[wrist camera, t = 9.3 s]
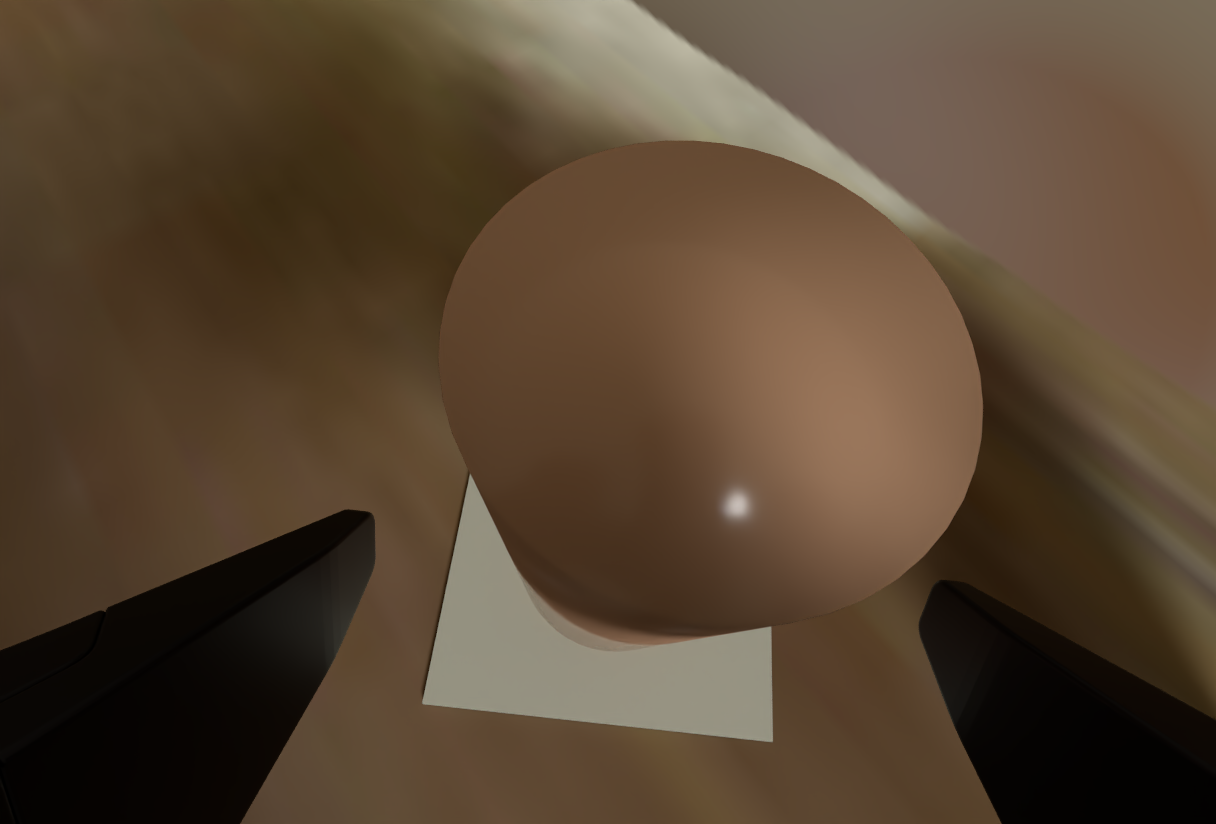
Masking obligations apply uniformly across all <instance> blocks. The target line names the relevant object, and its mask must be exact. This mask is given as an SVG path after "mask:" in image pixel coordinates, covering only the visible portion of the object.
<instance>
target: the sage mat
mask: <svg viewBox="0 0 1216 824" xmlns="http://www.w3.org/2000/svg"><path fill="white" fill-rule="evenodd" d="M422 704H427V705H436V706H446V707H455V708H464V709H473V710H482V711H492V712H501V713H510V714H519V715H528V716H537V717H547V718H556V719H565V720H574V721H583V722H593V723H602V724H611V725H620V726H629V727H639V728H648V729H657V730H666V731H675V732H685V733H694V734H703V735H712V736H721V737H730V738H740V739H749V740H758V741H767V742H773V729H772V654H771V627H765V628H759V629H753V630H748V631H742V632H736V633H730V634H724V635H718V636H713V637H707V638H701V639H695V640H689V641H683V642H678V643H672V644H666V645H660V646H654V647H648V648H642V649H637V650H631V651H620V652H613V651H602V650H597V649H591V648H589V647H586V646H583V645H580V644H578V643H576V642H574V641H572V640H570V639H568V638H566V637H565V636H563V635H562V634H560V633H559V632H558V631H556V630H555V629H554V628H553V627H552V626H551V625H550V624H549V623H548V622H547V621H546V620H545V619H544V618H543V617H542V615H541V614H540V613H539V612H538V610H537V609H536V607H535V605H534V604H533V602H532V601H531V599H530V597H529V595H528V592H527V590H526V588H525V586H524V584H523V582H522V580H521V578H520V576H519V574H518V572H517V570H516V568H515V565H514V563H513V561H512V559H511V557H510V555H509V553H508V551H507V549H506V547H505V545H504V543H503V540H502V538H501V536H500V534H499V532H498V530H497V528H496V526H495V524H494V522H493V520H492V518H491V516H490V513H489V511H488V509H487V507H486V505H485V503H484V501H483V499H482V497H481V495H480V493H479V491H478V489H477V486H476V484H475V482H474V480H473V478H472V476H471V474H470V477H469V482H468V486H467V491H466V496H465V501H464V505H463V510H462V515H461V520H460V525H459V529H458V534H457V539H456V544H455V549H454V553H453V558H452V563H451V568H450V572H449V577H448V582H447V587H446V592H445V596H444V601H443V606H442V611H441V615H440V620H439V625H438V630H437V635H436V639H435V644H434V649H433V654H432V659H431V663H430V668H429V673H428V678H427V682H426V687H425V692H424V697H423V702H422Z"/></svg>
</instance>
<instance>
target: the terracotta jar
mask: <svg viewBox="0 0 1216 824" xmlns="http://www.w3.org/2000/svg"><path fill="white" fill-rule="evenodd" d="M439 373H440V381H441V389H442V398H443V402H444V406H445V409H446V413H447V416H448V420H449V424H450V427H451V431H452V434H453V436H454V438H455V441H456V443H457V445H458V447H459V450H460V452H461V454H462V457H463V459H464V461H465V463H466V466H467V468H468V470H469V472H470V474H471V476H472V478H473V480H474V482H475V484H476V486H477V489H478V491H479V493H480V495H481V497H482V499H483V501H484V503H485V505H486V507H487V509H488V511H489V513H490V516H491V518H492V520H493V522H494V524H495V526H496V528H497V530H498V532H499V534H500V536H501V538H502V540H503V543H504V545H505V547H506V549H507V551H508V553H509V555H510V557H511V559H512V561H513V563H514V565H515V568H516V570H517V572H518V574H519V576H520V578H521V580H522V582H523V584H524V586H525V588H526V590H527V592H528V595H529V597H530V599H531V601H532V602H533V604H534V605H535V607H536V609H537V610H538V612H539V613H540V614H541V615H542V617H543V618H544V619H545V620H546V621H547V622H548V623H549V624H550V625H551V626H552V627H553V628H554V629H555V630H556V631H558V632H559V633H560V634H562V635H563V636H565V637H566V638H568V639H570V640H572V641H574V642H576V643H578V644H580V645H583V646H586V647H589V648H591V649H597V650H602V651H613V652H620V651H631V650H637V649H642V648H648V647H654V646H660V645H666V644H672V643H678V642H683V641H689V640H695V639H701V638H707V637H713V636H718V635H724V634H730V633H736V632H742V631H748V630H753V629H759V628H765V627H771V626H777V625H783V624H789V623H793V622H797V621H801V620H805V619H809V618H814V617H818V616H822V615H826V614H830V613H832V612H834V611H837V610H839V609H842V608H844V607H847V606H849V605H851V604H854V603H856V602H859V601H861V600H864V599H866V598H867V597H869V596H871V595H872V594H874V593H875V592H877V591H879V590H880V589H882V588H884V587H885V586H887V585H889V584H890V583H892V582H893V581H895V580H897V579H898V578H899V577H900V576H902V575H903V574H904V573H905V572H906V571H907V570H908V569H910V568H911V567H912V566H913V565H914V564H915V563H917V562H918V561H919V560H920V559H921V558H922V557H923V556H925V554H926V553H927V552H928V551H929V550H930V548H931V547H932V546H933V545H934V544H935V542H936V541H937V540H938V539H939V538H940V536H941V535H942V534H943V533H944V532H945V530H946V529H947V528H948V526H949V524H950V522H951V521H952V519H953V517H954V515H955V514H956V512H957V510H958V509H959V507H960V505H961V503H962V502H963V500H964V498H965V495H966V492H967V490H968V487H969V484H970V482H971V479H972V476H973V474H974V471H975V468H976V463H977V458H978V453H979V448H980V443H981V438H982V420H983V399H982V389H981V379H980V372H979V368H978V364H977V360H976V356H975V351H974V347H973V343H972V341H971V338H970V336H969V333H968V330H967V328H966V325H965V323H964V320H963V317H962V315H961V313H960V311H959V309H958V307H957V305H956V303H955V302H954V300H953V298H952V296H951V294H950V292H949V290H948V288H947V287H946V285H945V284H944V282H943V281H942V279H941V278H940V277H939V275H938V274H937V272H936V271H935V269H934V268H933V266H932V265H931V263H930V262H929V261H928V260H927V258H926V257H925V256H924V255H923V254H922V253H921V252H920V250H919V249H918V248H917V247H916V246H915V245H914V243H913V242H912V241H911V240H910V239H909V238H908V237H907V236H906V235H905V234H904V233H903V232H902V231H901V230H900V229H899V228H898V227H897V226H896V225H894V224H893V223H892V222H891V221H890V220H889V219H888V218H887V217H886V216H885V215H883V214H882V213H881V212H879V211H878V210H877V209H875V208H874V207H873V206H872V205H870V204H869V203H868V202H866V201H865V200H864V199H863V198H861V197H859V196H858V195H856V194H855V193H853V192H851V191H850V190H848V189H847V188H845V187H843V186H842V185H840V184H839V183H837V182H835V181H833V180H831V179H829V178H827V177H825V176H823V175H821V174H819V173H817V172H815V171H813V170H811V169H809V168H807V167H804V166H802V165H799V164H797V163H794V162H792V161H789V160H786V159H784V158H781V157H778V156H774V155H771V154H768V153H764V152H761V151H757V150H754V149H749V148H744V147H739V146H733V145H728V144H722V143H712V142H702V141H658V142H648V143H638V144H632V145H627V146H622V147H617V148H613V149H608V150H605V151H601V152H598V153H595V154H592V155H589V156H586V157H583V158H580V159H577V160H575V161H573V162H571V163H569V164H566V165H564V166H562V167H560V168H558V169H555V170H553V171H552V172H550V173H548V174H547V175H545V176H543V177H542V178H540V179H538V180H537V181H535V182H533V183H532V184H530V185H529V186H527V187H526V188H525V189H524V190H522V191H521V192H520V193H519V194H517V195H516V196H515V197H513V198H512V199H511V200H510V201H508V202H507V203H506V204H505V205H504V206H503V207H502V208H501V209H500V210H499V211H498V212H497V213H496V214H495V215H494V216H493V217H492V219H491V220H490V221H489V222H488V223H487V224H486V225H485V226H484V228H483V229H482V231H481V232H480V233H479V235H478V236H477V237H476V239H475V240H474V242H473V243H472V244H471V246H470V247H469V249H468V251H467V253H466V255H465V256H464V258H463V260H462V262H461V264H460V266H459V268H458V270H457V271H456V273H455V276H454V279H453V282H452V285H451V288H450V291H449V293H448V296H447V299H446V302H445V307H444V312H443V318H442V323H441V328H440V338H439Z"/></svg>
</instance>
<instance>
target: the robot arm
mask: <svg viewBox="0 0 1216 824" xmlns="http://www.w3.org/2000/svg"><path fill="white" fill-rule="evenodd" d="M374 564H375V520H374V516H373V515H372V513H370V512H366V511H358V510H349V509H348V510H343V511H340V512H338V513H336V514H333V515H331V516H328V517H326V518H323V519H321V520H319V521H316V522H314V523H311V524H309V525H306V526H304V527H302V528H299V529H297V530H294V531H292V532H289V533H287V534H285V535H282V536H280V537H277V538H275V539H273V540H270V541H268V542H265V543H263V544H260V545H258V546H256V547H253V548H251V549H248V550H246V551H243V552H241V553H239V554H236V555H234V556H231V557H229V558H226V559H224V560H222V561H219V562H217V563H214V564H212V565H209V566H207V567H205V568H202V569H200V570H197V571H195V572H193V573H190V574H188V575H185V576H183V577H180V578H178V579H176V580H173V581H171V582H168V583H166V584H163V585H161V586H159V587H156V588H154V589H151V590H149V591H146V592H144V593H142V594H139V595H137V596H134V597H132V598H129V599H127V600H125V601H122V602H120V603H117V604H115V605H112V606H110V607H108V608H107V610H106V612H104V611H97V612H95V613H93V614H90V615H88V616H86V617H83V618H81V619H78V620H76V621H74V622H71V623H69V624H66V625H64V626H61V627H59V628H56V629H54V630H51V631H49V632H46V633H44V634H41V635H39V636H36V637H34V638H31V639H29V640H26V641H24V642H21V643H18V644H16V645H13V646H11V647H8V648H6V649H3V650H0V824H240V823H241V821H242V820H243V818H244V816H245V814H246V813H247V811H248V809H249V807H250V806H251V804H252V802H253V801H254V799H255V797H256V795H257V794H258V792H259V790H260V788H261V787H262V785H263V783H264V781H265V780H266V778H267V776H268V774H269V773H270V771H271V769H272V767H273V766H274V764H275V762H276V760H277V759H278V757H279V755H280V754H281V752H282V750H283V748H284V747H285V745H286V743H287V741H288V740H289V738H290V736H291V734H292V733H293V731H294V729H295V727H296V726H297V724H298V722H299V720H300V719H301V717H302V715H303V714H304V712H305V710H306V708H307V707H308V705H309V703H310V701H311V700H312V698H313V696H314V694H315V693H316V691H317V689H318V687H319V686H320V684H321V682H322V680H323V679H324V677H325V675H326V673H327V672H328V670H329V668H330V666H331V664H332V662H333V661H334V659H335V657H336V654H337V652H338V650H339V648H340V646H341V644H342V641H343V639H344V637H345V634H346V632H347V630H348V627H349V625H350V623H351V621H352V618H353V616H354V614H355V611H356V609H357V607H358V604H359V602H360V600H361V597H362V595H363V593H364V591H365V588H366V586H367V584H368V581H369V579H370V577H371V574H372V572H373V569H374ZM919 634H920V638H921V641H922V643H923V646H924V649H925V651H926V654H927V657H928V659H929V662H930V665H931V667H932V670H933V672H934V675H935V678H936V680H937V683H938V686H939V688H940V691H941V694H942V696H943V699H944V701H945V704H946V707H947V709H948V712H949V714H950V717H951V719H952V722H953V724H954V727H955V729H956V731H957V733H958V735H959V738H960V740H961V742H962V744H963V746H964V748H965V750H966V752H967V754H968V756H969V758H970V760H971V762H972V764H973V766H974V768H975V770H976V773H977V775H978V777H979V779H980V781H981V783H982V785H983V787H984V789H985V791H986V793H987V795H988V797H989V799H990V801H991V803H992V805H993V807H994V809H995V811H996V813H997V815H998V817H999V819H1000V821H1001V823H1002V824H1216V720H1215V719H1213V718H1211V717H1209V716H1208V715H1206V714H1204V713H1202V712H1200V711H1198V710H1197V709H1195V708H1193V707H1191V706H1189V705H1188V704H1186V703H1184V702H1182V701H1180V700H1178V699H1177V698H1175V697H1173V696H1171V695H1169V694H1168V693H1166V692H1164V691H1162V690H1160V689H1158V688H1157V687H1155V686H1153V685H1151V684H1149V683H1147V682H1146V681H1144V680H1142V679H1140V678H1138V677H1137V676H1135V675H1133V674H1131V673H1129V672H1127V671H1126V670H1124V669H1122V668H1120V667H1118V666H1117V665H1115V664H1113V663H1111V662H1109V661H1107V660H1106V659H1104V658H1102V657H1100V656H1098V655H1097V654H1095V653H1093V652H1091V651H1089V650H1087V649H1086V648H1084V647H1082V646H1080V645H1078V644H1076V643H1075V642H1073V641H1071V640H1069V639H1067V638H1066V637H1064V636H1062V635H1060V634H1058V633H1056V632H1055V631H1053V630H1051V629H1049V628H1047V627H1046V626H1044V625H1042V624H1040V623H1038V622H1036V621H1035V620H1033V619H1031V618H1029V617H1027V616H1026V615H1024V614H1022V613H1020V612H1018V611H1016V610H1015V609H1013V608H1011V607H1009V606H1007V605H1005V604H1004V603H1002V602H1000V601H998V600H996V599H995V598H993V597H991V596H989V595H987V594H985V593H984V592H982V591H980V590H978V589H976V588H975V587H973V586H971V585H969V584H967V583H964V582H958V581H949V580H940V581H937V582H936V583H935V584H934V585H933V587H932V589H931V592H930V594H929V597H928V599H927V602H926V605H925V607H924V610H923V612H922V615H921V617H920V620H919Z"/></svg>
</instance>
